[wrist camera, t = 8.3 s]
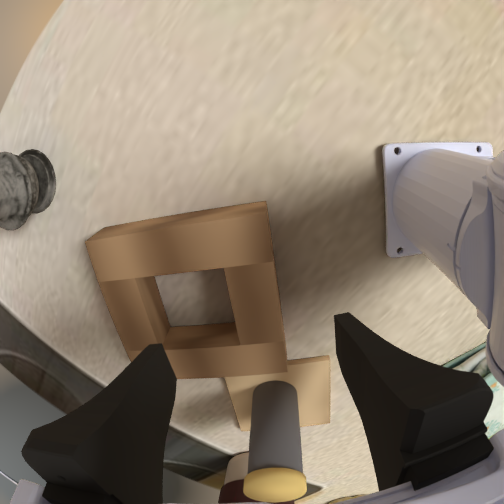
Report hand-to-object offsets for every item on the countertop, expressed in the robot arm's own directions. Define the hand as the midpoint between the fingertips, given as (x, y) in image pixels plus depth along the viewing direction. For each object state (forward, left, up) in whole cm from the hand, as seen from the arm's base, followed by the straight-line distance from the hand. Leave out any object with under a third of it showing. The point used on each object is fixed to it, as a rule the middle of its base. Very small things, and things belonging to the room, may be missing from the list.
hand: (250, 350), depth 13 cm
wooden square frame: (+5, +2, -10) cm, 12 cm away
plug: (0, +14, -10) cm, 17 cm away
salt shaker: (+17, -9, -11) cm, 22 cm away
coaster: (0, +14, -10) cm, 18 cm away
